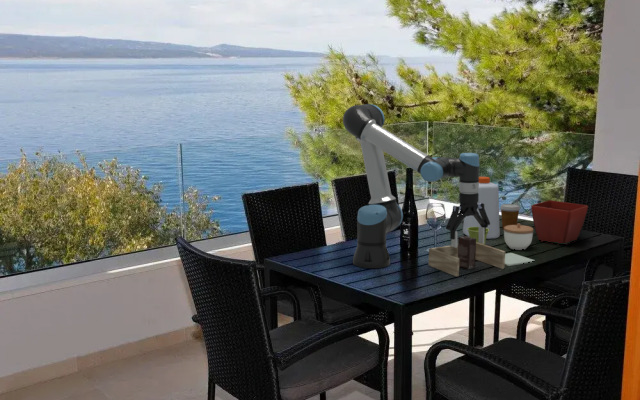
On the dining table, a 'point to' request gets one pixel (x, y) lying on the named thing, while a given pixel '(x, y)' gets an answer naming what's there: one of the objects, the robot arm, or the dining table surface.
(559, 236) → the plant pot
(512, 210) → the disposable coffee cup
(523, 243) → the lidded bowl
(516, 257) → the plate
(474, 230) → the plant pot
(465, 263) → the box
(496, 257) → the wooden u-shaped frame
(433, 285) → the dining table surface
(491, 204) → the plastic bottle
